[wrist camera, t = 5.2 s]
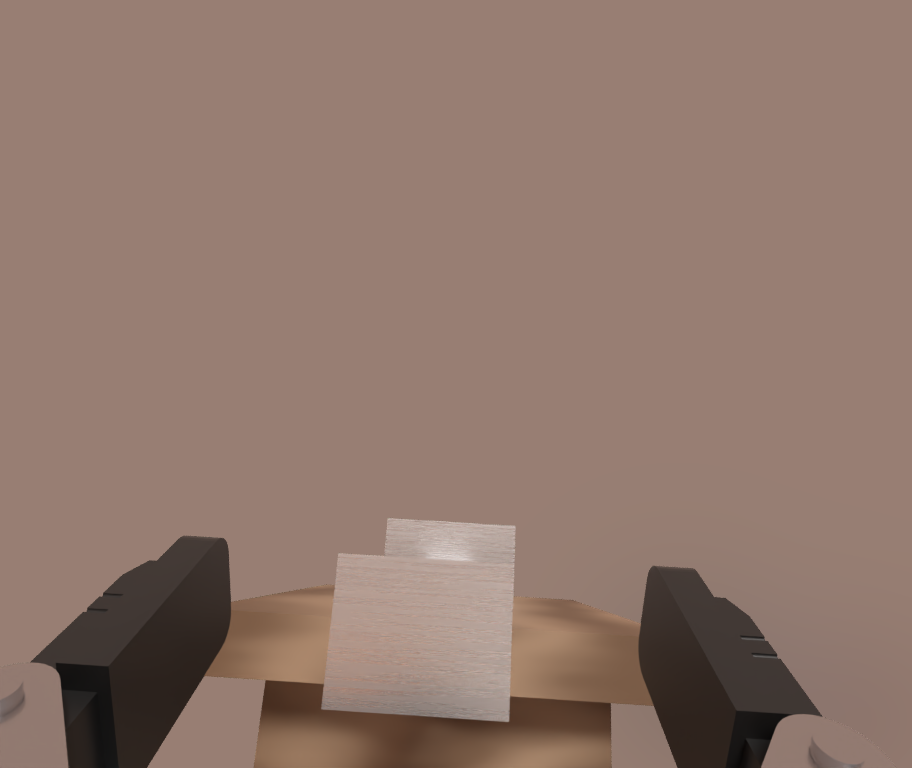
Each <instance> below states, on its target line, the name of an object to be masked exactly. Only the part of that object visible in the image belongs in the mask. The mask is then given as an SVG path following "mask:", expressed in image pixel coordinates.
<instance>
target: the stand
mask: <svg viewBox="0 0 912 768" xmlns="http://www.w3.org/2000/svg"><path fill="white" fill-rule="evenodd" d="M334 590H335V585H322V586H316V587H311V588H305V589H300V590H294V591H289V592H284V593H278V594H272V595H267V596H262V597H256V598H250V599H245V600H239V601H234V602H231V620H230V626H229V630H228V634H227V637H226V640H225V642H224V644H223V646H222V648H221V650H220V651H219V653H218V654H217V656H216V658H215V659H214V661H213V662H212V664H211V666H210V667H209V669H208V670H207V672H206V674H205V675H204V676H212V677H228V678H243V679H257V680H266V682H265V689H264V696H263V703H262V711H261V718H260V725H259V733H258V741H257V747H256V755H255V762H254V768H612V766H611V703H618V704H634V705H649V706H654V705H653V702H652V700H651V697H650V694H649V692H648V689H647V687H646V684H645V681H644V679H643V676H642V673H641V669H640V663H639V653H638V642H639V633H640V626H641V624H640V623H637V622H634V621H632V620H629V619H626V618H623V617H620V616H617V615H614V614H611V613H608V612H605V611H602V610H599V609H597V608H593V607H591V606H588V605H585V604H582V603H579V602H576V601H573V600H562V599H546V598H529V597H514V596H513V611H512V643H511V676H510V709H509V722H502V721H487V720H472V719H457V718H442V717H427V716H412V715H398V714H383V713H368V712H353V711H338V710H323V709H321V706H322V697H323V688H324V679H325V670H326V661H327V652H328V643H329V635H330V626H331V617H332V608H333V599H334Z"/></svg>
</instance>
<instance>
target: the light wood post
mask: <svg viewBox="0 0 912 768" xmlns="http://www.w3.org/2000/svg"><path fill="white" fill-rule="evenodd" d="M514 559H515V526H507V525H491V524H475V523H457V522H442V521H425V520H408V519H392V518H388V521H387V532H386V544H385V554H384V556H374V555H358V554H357V555H356V554H341V553H339V554H338V564H337V572H336V581H335V590H334V599H333V608H332V617H331V626H330V635H329V643H328V652H327V661H326V670H325V679H324V688H323V697H322V706H321V709H323V710H338V711H353V712H368V713H383V714H398V715H412V716H427V717H442V718H457V719H472V720H487V721H502V722H509V709H510V676H511V643H512V611H513V590H514Z"/></svg>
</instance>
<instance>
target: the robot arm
mask: <svg viewBox="0 0 912 768" xmlns="http://www.w3.org/2000/svg"><path fill="white" fill-rule="evenodd" d="M230 620H231V595H230V574H229V551H228V545H227V542H226V540H225V539H223V538H212V537H197V536H182V537H180V538H179V539H178V540H177V541H176V542H175V543H174V544H173V545H172V546H171V547H170V548H169V549H168V550H167V551H166V552H165V553H164V554H163V555H162V556H161V557H160V558H159V559H158V560H157V561H147V562H146V563H144V564H142V565H140V566H138V567H136V568H134V569H133V570H131V571H129V572H127V573H125V574H123V575H122V576H121V577H120V578H119V579H118V580H116V581H115V582H114V584H112V585H111V586H110V587H109V588H108V589H107V590H106V591H105V592H104V593H103V596H102V597H99V598H98V599H96V600H95V601H94V602H93V603H92V604H91V605H90V606H89V607H88V608H87V612H83V613H82V614H81V615H80V616H78V617H77V618H76V619H75V620H74V621H73V622H72V623H71V624H70V625H69V626H68V627H67V628H66V629H65V630H64V631H63V632H62V633H61V634H59V635H58V636H57V637H56V638H55V639H54V640H53V641H52V642H51V643H50V644H49V645H48V646H47V647H46V648H45V649H44V650H43V651H41V652H40V654H39V655H37V656H36V657H35V658H34V659H33V660H32V661H31V662H30V663H18V664H12V665H7V666H3V667H0V768H147V767H148V765H149V763H150V762H151V760H152V759H153V757H154V755H155V754H156V752H157V751H158V749H159V747H160V746H161V744H162V743H163V741H164V739H165V738H166V736H167V735H168V733H169V731H170V730H171V728H172V727H173V725H174V723H175V722H176V720H177V719H178V717H179V715H180V714H181V712H182V710H183V709H184V707H185V706H186V704H187V703H188V701H189V699H190V698H191V696H192V694H193V693H194V691H195V690H196V688H197V686H198V685H199V683H200V682H201V680H202V678H203V677H204V675H205V674H206V672H207V670H208V669H209V667H210V666H211V664H212V662H213V661H214V659H215V658H216V656H217V654H218V653H219V651H220V650H221V648H222V646H223V644H224V642H225V640H226V637H227V634H228V630H229V626H230ZM638 653H639V663H640V669H641V673H642V676H643V679H644V681H645V684H646V687H647V689H648V692H649V694H650V697H651V700H652V702H653V705H654V707H655V710H656V713H657V715H658V718H659V721H660V723H661V726H662V728H663V731H664V734H665V736H666V739H667V741H668V744H669V747H670V749H671V752H672V755H673V757H674V760H675V762H676V765H677V767H678V768H895V766H894V764H893V763H892V762H891V760H890V759H889V758H888V757H887V756H886V754H885V753H884V752H883V751H882V750H881V749H879V748H878V747H877V746H876V745H875V744H874V743H873V742H871V741H870V740H869V739H867V738H866V737H864V736H863V735H861V734H860V733H858V732H856V731H855V730H853V729H851V728H849V727H847V726H845V725H843V724H841V723H839V722H836V721H833V720H831V719H827V718H824V717H822V715H821V714H820V713H819V711H818V710H817V708H816V707H815V706H814V704H813V703H812V702H811V700H810V699H809V697H808V696H807V695H806V693H805V692H804V691H803V689H802V688H801V686H800V685H799V684H798V682H797V681H796V680H795V679H794V677H793V675H792V674H791V673H790V671H789V670H788V669H787V667H786V666H785V664H784V663H783V662H782V660H781V659H778V658H777V653H776V652H775V651H774V650H773V648H772V647H771V645H770V644H769V643H768V641H765V639H764V636H763V634H762V633H761V632H760V630H759V629H758V627H757V626H756V625H755V623H754V622H753V621H752V619H751V618H750V617H749V616H748V615H747V614H746V613H744V612H743V611H741V610H740V609H739V608H738V607H736V606H735V605H734V604H732V603H731V602H730V601H728V600H727V599H726V598H717V597H713V595H712V594H711V592H710V590H709V589H708V587H707V586H706V584H705V583H704V581H703V580H702V578H701V577H700V576H699V574H698V573H697V571H696V570H695V569H692V568H678V567H662V566H653V567H651V569H650V570H649V573H648V577H647V584H646V591H645V598H644V605H643V612H642V619H641V626H640V633H639V642H638Z"/></svg>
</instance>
